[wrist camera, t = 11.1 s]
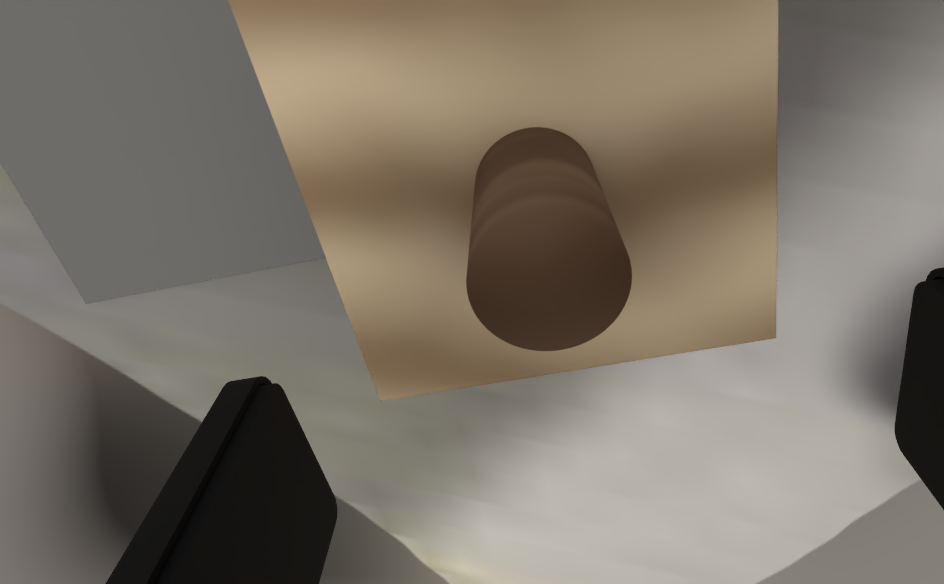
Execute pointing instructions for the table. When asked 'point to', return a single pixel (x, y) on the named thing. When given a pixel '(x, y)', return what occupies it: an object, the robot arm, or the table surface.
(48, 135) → the rubber mat
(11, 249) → the table surface
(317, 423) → the table surface
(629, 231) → the oak lid
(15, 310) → the table surface
